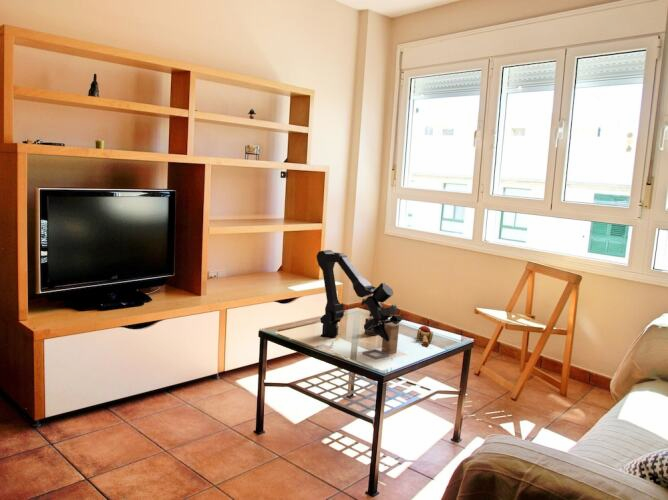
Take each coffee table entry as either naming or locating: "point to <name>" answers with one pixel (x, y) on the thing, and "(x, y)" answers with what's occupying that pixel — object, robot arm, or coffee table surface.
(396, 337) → the pillar
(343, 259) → the robot arm
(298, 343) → the coffee table surface
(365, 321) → the box
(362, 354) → the plate
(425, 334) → the kendama
